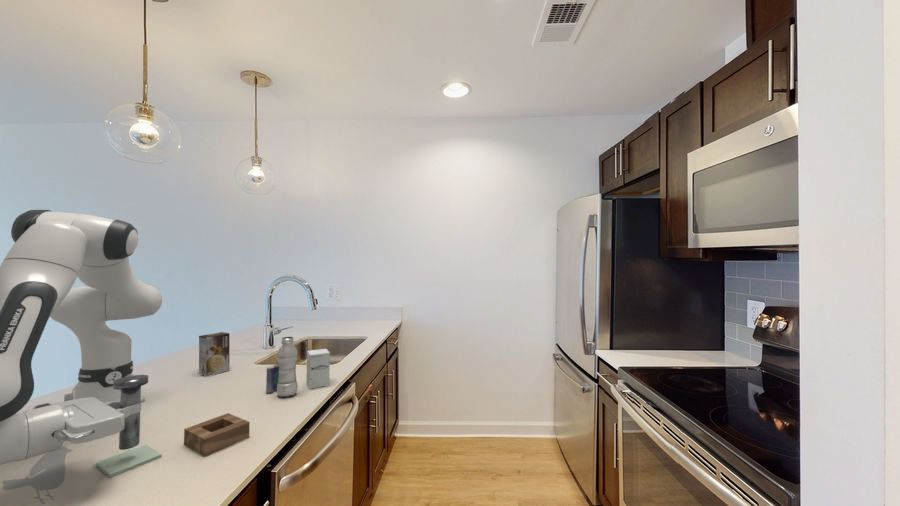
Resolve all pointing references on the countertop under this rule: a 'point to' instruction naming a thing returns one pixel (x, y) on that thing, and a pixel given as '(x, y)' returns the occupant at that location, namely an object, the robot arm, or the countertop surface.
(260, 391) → the countertop surface
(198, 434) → the walnut block
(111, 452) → the countertop surface
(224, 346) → the coffee box
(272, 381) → the flask
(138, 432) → the dark grey capped cylinder
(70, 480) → the countertop surface
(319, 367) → the supplement box
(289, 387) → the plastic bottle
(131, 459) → the coaster
